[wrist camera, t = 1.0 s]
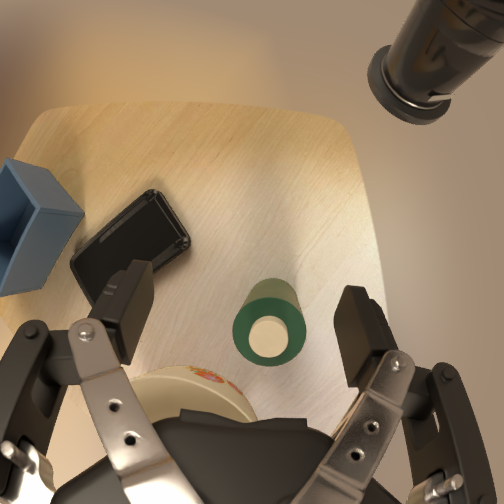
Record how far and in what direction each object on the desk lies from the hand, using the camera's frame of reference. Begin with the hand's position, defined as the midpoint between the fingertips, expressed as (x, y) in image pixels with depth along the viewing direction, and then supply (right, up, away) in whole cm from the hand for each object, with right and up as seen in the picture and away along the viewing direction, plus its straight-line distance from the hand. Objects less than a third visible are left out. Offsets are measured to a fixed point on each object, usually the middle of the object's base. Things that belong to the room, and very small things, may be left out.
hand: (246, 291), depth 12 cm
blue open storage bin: (-29, +5, +22) cm, 36 cm away
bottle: (+2, -4, +19) cm, 20 cm away
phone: (-14, +2, +21) cm, 25 cm away
